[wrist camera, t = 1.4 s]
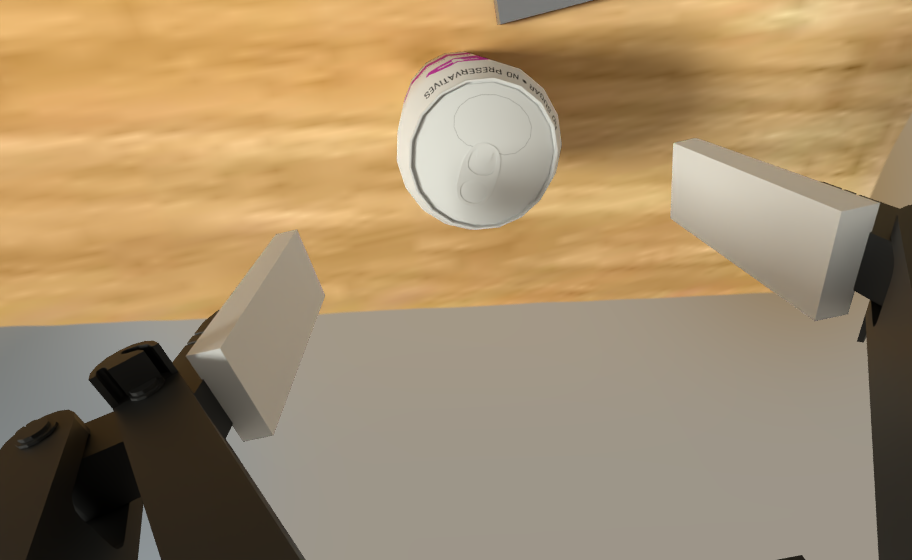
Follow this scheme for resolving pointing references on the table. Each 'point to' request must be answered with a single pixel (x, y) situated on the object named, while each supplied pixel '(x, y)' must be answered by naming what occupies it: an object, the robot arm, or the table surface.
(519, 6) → the slate board
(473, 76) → the supplement can
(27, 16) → the table surface
